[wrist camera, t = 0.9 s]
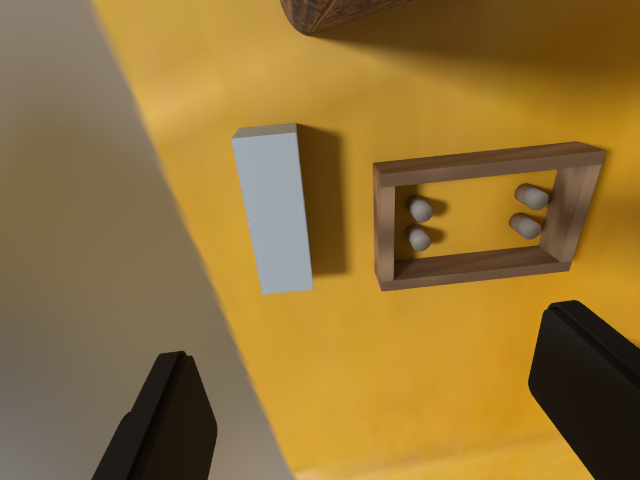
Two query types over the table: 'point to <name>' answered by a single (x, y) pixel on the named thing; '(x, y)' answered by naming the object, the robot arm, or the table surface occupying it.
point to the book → (329, 12)
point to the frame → (558, 232)
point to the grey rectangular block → (275, 205)
